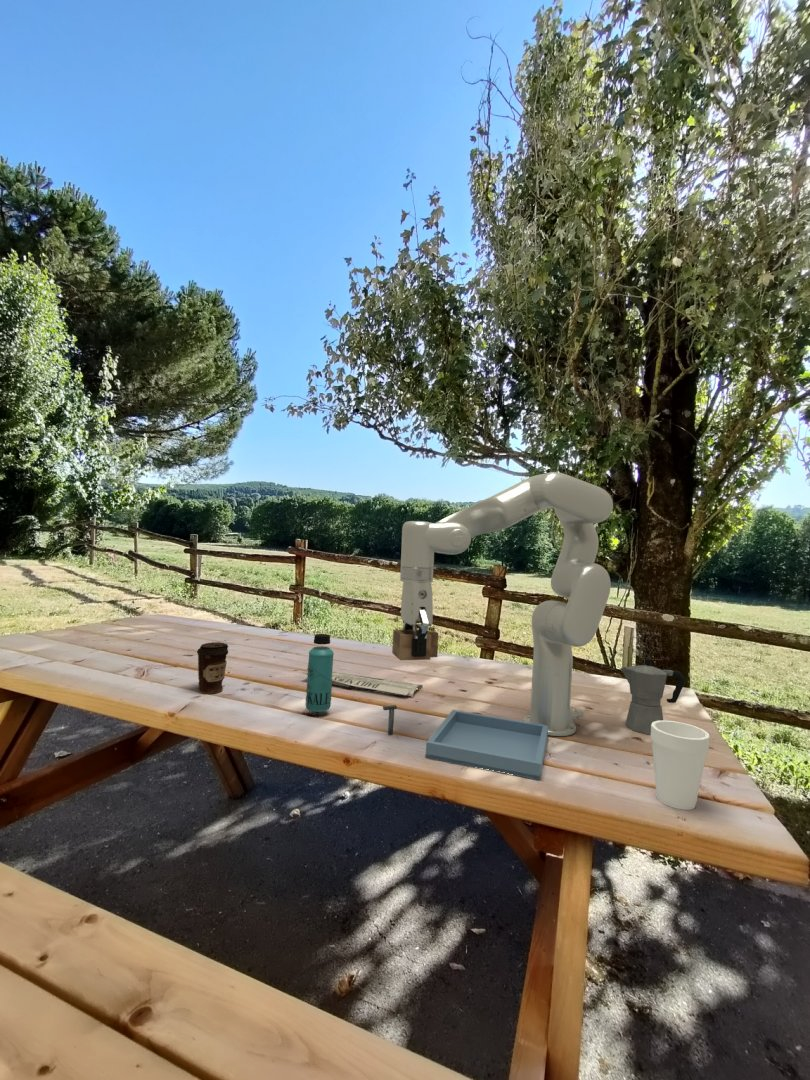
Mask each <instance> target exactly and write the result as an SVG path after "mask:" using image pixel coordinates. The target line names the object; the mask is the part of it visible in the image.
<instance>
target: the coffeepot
mask: <svg viewBox="0 0 810 1080" xmlns="http://www.w3.org/2000/svg"><path fill="white" fill-rule="evenodd" d="M644 662H645V664H644V665H643V664H640V665H631V666H623V667H620V668H619V670H620V671H621V672H622V673H623V675H624V677H625V679H626V680H627V682H628V685H629V693H630V694H631V700H630V704H629V707H628V712H627V717H626V720H625V727H627V728H628V729H629V730H631V731H633V732H635V733H639V734H643V735H649V736H651V724H652V722H655V721H664V715H663V706H662V705H661V703H662V702H661V699H662V698H663V696H664V693H665V686H666V682H667V679H677V682H676V683H675V688H674V689H673V691H672V697H671V698H666V701H667V702H666V703H670V704H676V703H677V702H678V698H679V697H680V694H681V693H682V690H683V688H684V687H685V684H686V677H685V676H684V675H683V674H682V672H681V671H679V670H674V669H673V670H671V669H661V668H658V667H655V666H653V665H651V664H652V662H653V659H651V658H644Z"/></svg>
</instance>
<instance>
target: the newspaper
mask: <svg viewBox="0 0 810 1080" xmlns="http://www.w3.org/2000/svg"><path fill="white" fill-rule="evenodd" d="M302 674H305V675H307V674H308V672H304V671H302ZM307 678H308V676H306V679H307ZM332 684H334V685H333V686H335V685H339V686H338V687H342V686H345V687H344V688H349V687H351V688H350V689H355V688H357V689H356V690H361V689H363V690H362V691H368V690H370V691H369V692H374V691H377V692H376V693H381V692H384V693H383V694H388V693H389V695H394V694H397V695H396V696H401V695H405V696H404V697H407V696H411V697H410V698H414V693H415V691H414V690H415V689H416V688H418V689H420V690H422V689H423V684H418V683H411V682H405V681H398V680H390V679H384V678H376V677H371V676H370V677H369V676H363V675H356V674H349V673H345V672H337V671H332ZM421 688H422V689H421Z"/></svg>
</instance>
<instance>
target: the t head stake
mask: <svg viewBox="0 0 810 1080" xmlns="http://www.w3.org/2000/svg"><path fill="white" fill-rule="evenodd" d="M382 710H384V711H388V721H387V722H388V723H387V725H388V727H387V735H388V736H393V735H394V724H395V723H394V721H395V719H394V718H395V710H397V705H396V704H393V705H392V704H391V705H384V706H382Z"/></svg>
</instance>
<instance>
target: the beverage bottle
mask: <svg viewBox="0 0 810 1080" xmlns="http://www.w3.org/2000/svg"><path fill="white" fill-rule="evenodd" d="M313 638H314V639H313V643H314V644H315V645H320V646H314V647H312V648H311V649H310V650H309V651H308V662H307V673H308V674H306V689H305V690H306V694H305V703H304V705H305V708H306V710H307V711H311V712H317V713H318V712H326V711H329V710H330V708H331V706H332V705H331V704H332V694H333V693H332V690H333V685H332V672H333V665H334V653H335V652H334V651H333V649H331V648H330V647H327V646H321V645H330V644H331V635H329V634H326V633H317V634H314V637H313ZM307 677H308V678H307Z"/></svg>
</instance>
